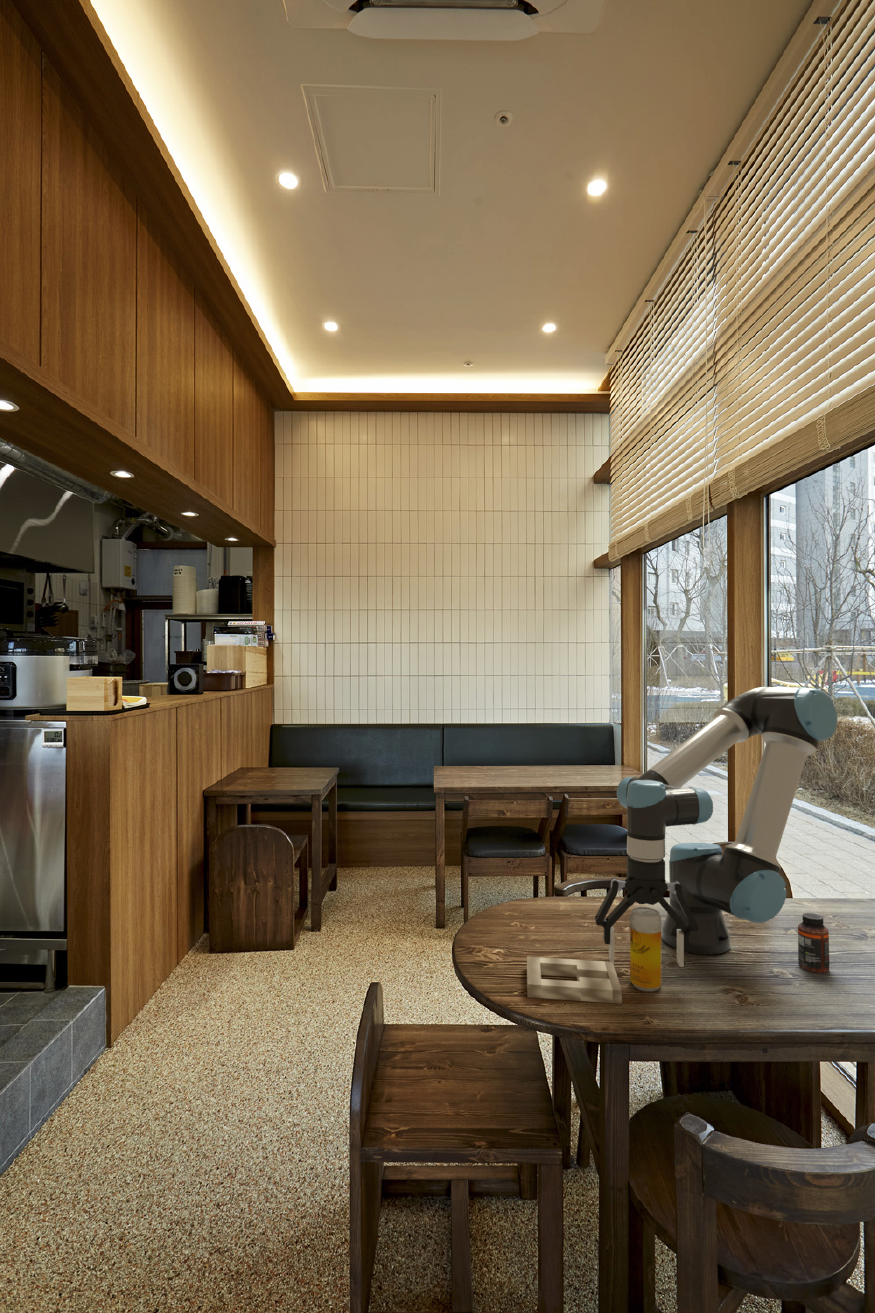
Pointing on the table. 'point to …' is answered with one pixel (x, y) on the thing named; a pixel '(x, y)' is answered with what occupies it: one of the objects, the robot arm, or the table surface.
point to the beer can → (645, 949)
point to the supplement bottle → (813, 944)
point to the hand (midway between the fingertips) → (645, 962)
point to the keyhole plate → (591, 984)
